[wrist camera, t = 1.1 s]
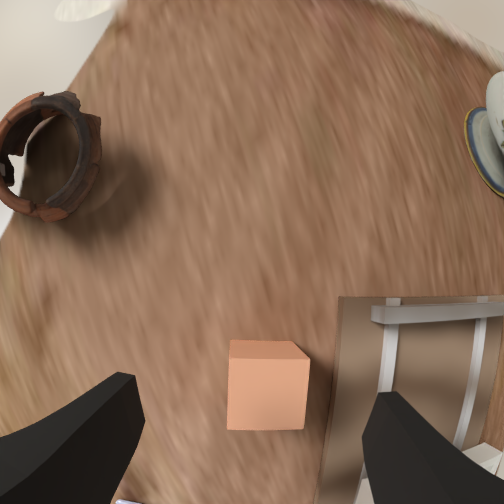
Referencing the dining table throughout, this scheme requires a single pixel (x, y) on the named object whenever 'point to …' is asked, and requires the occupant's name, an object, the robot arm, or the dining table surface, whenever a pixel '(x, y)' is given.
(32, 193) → the dining table surface
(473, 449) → the white square tray
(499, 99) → the apothecary jar
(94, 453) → the robot arm
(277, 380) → the terracotta block
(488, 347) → the track board
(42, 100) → the pottery mug
